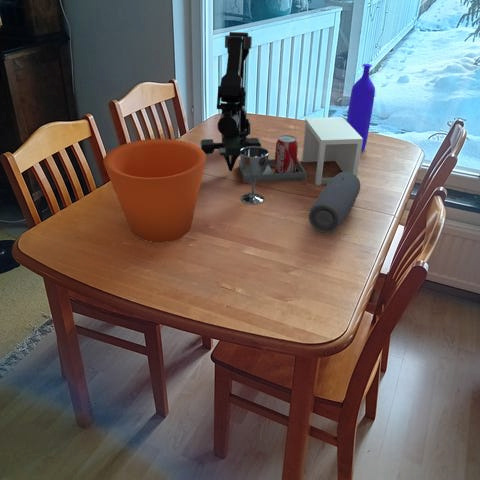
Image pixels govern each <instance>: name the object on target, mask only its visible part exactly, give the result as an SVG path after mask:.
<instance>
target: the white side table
mask: <svg viewBox="0 0 480 480" xmlns="http://www.w3.org/2000/svg"><path fill="white" fill-rule="evenodd" d="M303 133H304V135H303V143H302V154H301V162H302V163H313V162H314V163H316V162H317V163H316V170H315V171H316V172H315V178H314V184H315V185H316V186H321V185H322V184H328V183H329V182H330V181H331V180H332V179H333V178H334V177H335V176H334V177H323V170H324V164H325V163H324V162H336V164H337V165H338V167H339V168H340V170H341V172H351V173H353V174H355V175H356V176H357V177H358V172H359V165H360V159H361V155H362V151H361V149H362V143H363V138H362V137H361V136H360V135H359V134H358V133H357V132H356V131H355V130H354V129H353V128H352V126H351V125H350V124H349V123H348V122H347V119H345V118H344V116H342V117H341V116H339V117H338V116H336V117H335V116H333V117H331V116H330V117H305V118H304V132H303Z"/></svg>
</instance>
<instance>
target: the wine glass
mask: <svg viewBox="0 0 480 480" xmlns="http://www.w3.org/2000/svg"><path fill="white" fill-rule="evenodd" d="M268 159H269V150H268V148H265V147H262V146H261V147H257V146H250V147H245V148H243V149H241V151H240V156H239V160H240V161H241V167H242V170H243V172H244V173H245V174H246V175H247V176H248V177H249V179H250V181H251V182H250V183H251V184H250V185H251V192H248V193H244V194H242V195H241V196H240V200H241V201H242V202H243V203H244V204H247V205H260V204H262V203H263V202H265V197H264V196H263V195H262V194H259V193H257V192H256V193H255V186H256V183H257V182H256V180H257V179H258V178H259V177H260V176H261V175H262V174H263V173H264V171H265V169H266V167H267V162H268Z"/></svg>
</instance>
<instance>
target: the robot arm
mask: <svg viewBox="0 0 480 480" xmlns="http://www.w3.org/2000/svg"><path fill="white" fill-rule="evenodd" d="M252 37H253V36H249V32H241V31H238V32H237V31H230V32H229V35H224V48H225V49H226V50H227V51H226V52H227V61H226V62H227V63H226V71H225V74H224V75H223V76H222V77H221V80H220V85H218V87H217V98H216V100H217V101H216V110H221V114H220V117H219V119H218V122H217V131H218V132H219V133H220V134H221V142H214V139H213V138H211V139H210V138H209V139H206V138H205V139H201V141H200V148H201V149H202V150H203V151H204V152H205V155H212V154H214V153H215V150H218V153H219V156H221V157H223V158H224V160H225V162H226V165H227V168H228V171H229V172H232V171H233V169H234V166H235V165H236V162H237V159H238V158H239V157H240V151H241V149H243V148H245V147H250V146H257V147H262V143H261V142H260V140H259V138H258V137H249V138H248V136H249V135H251V122H250V120H249V118H248V112H247V110H246V108H245V107H246V99H247V97H246V96H247V90H246V89H245V87H244V86H245V85H244V84H245V83H244V81H245V61H246V59H247V57H248V56H249V54H250V50H251V49H252V45H253V44H252V43H253V42H252V41H253V38H252Z"/></svg>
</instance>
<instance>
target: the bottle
mask: <svg viewBox="0 0 480 480" xmlns="http://www.w3.org/2000/svg"><path fill="white" fill-rule="evenodd" d="M362 66H363V72H362V76H361V77H360V78H359V79H358V80H357V81H356V82H355V83H354V84H353V85H352V88H351V93H350V96H349V98H350V99H349V104H348V110H347V116H346V121H347V122H348V123H349V124H350V125H351V126H352V128H353V129H354V130H355V131H356V132H357V133H358V134H359V135H360V136H361V137H362V138H363V143H362V149H361V152H363V151H364V150H365V149H366V146H367V142H368V136H369V132H370V125H371V120H372V114H373V107H374V101H375V95H376V93H375V92H376V87H375V84H374V83H373V81H372V80H371V78H370V69H371V68H372V67H373V65H372V64H371V63H362Z"/></svg>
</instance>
